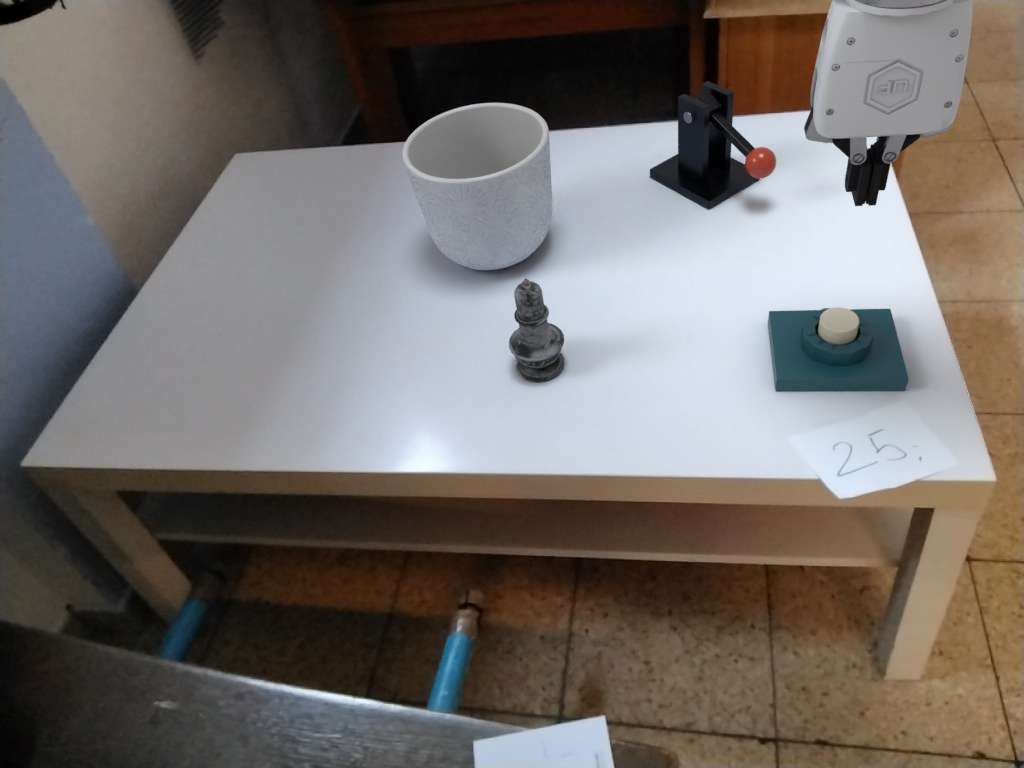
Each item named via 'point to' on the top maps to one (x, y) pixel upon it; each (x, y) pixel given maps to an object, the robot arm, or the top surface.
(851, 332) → the button
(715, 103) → the lever
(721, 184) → the lever base
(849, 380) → the block
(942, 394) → the top surface
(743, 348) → the top surface
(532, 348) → the stone chess piece
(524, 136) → the planter
